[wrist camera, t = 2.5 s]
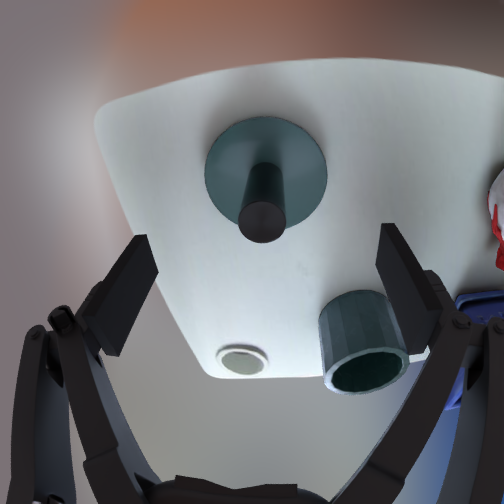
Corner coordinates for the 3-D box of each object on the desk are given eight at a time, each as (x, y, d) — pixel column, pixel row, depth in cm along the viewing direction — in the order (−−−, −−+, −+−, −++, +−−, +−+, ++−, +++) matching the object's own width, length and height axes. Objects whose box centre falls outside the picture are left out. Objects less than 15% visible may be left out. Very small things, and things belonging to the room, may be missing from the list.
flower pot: (514, 276, 30) (552, 334, 20) (481, 337, 37) (505, 392, 27) (450, 282, 31) (489, 354, 21) (420, 348, 39) (440, 413, 29)
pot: (316, 344, 38) (320, 398, 31) (320, 292, 33) (329, 352, 26) (382, 338, 37) (396, 389, 30) (398, 287, 32) (420, 342, 25)
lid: (216, 228, 29) (196, 290, 22) (198, 122, 24) (162, 149, 16) (324, 223, 28) (341, 285, 21) (323, 113, 22) (349, 135, 15)
